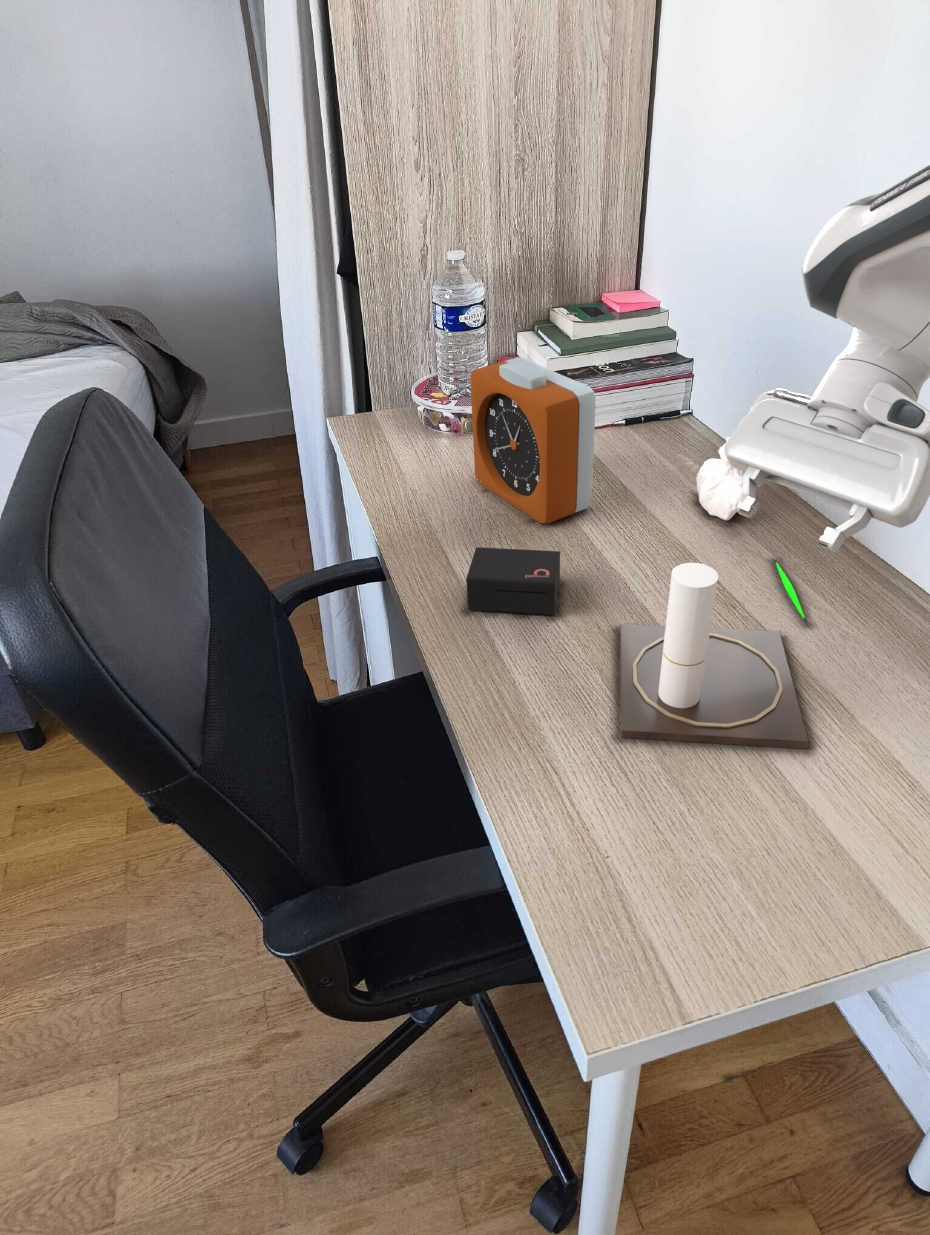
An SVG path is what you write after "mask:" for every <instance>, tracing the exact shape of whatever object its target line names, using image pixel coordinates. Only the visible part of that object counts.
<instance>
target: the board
mask: <svg viewBox="0 0 930 1235" xmlns="http://www.w3.org/2000/svg"><path fill="white" fill-rule="evenodd" d="M665 628H666V625H644V624H623V623H622V624H621V623H620V625H619V682H620V683H619V684H620V685H619V689H620V690H619V692H620V693H619V694H620V695H619V696H620V698H619V699H620V738H621V739H622V738H623V739H636V740H637V739H638V740H653V741H669V742H671V741H672V742H686V743H687V742H688V743H703V744H704V743H705V744H720V745H721V744H722V745H735V746H736V745H737V746H750V747H751V746H753V747H769V748H771V747H772V748H785V749H786V748H787V749H802V750H803V749H805V750H807V749H808V746H809V742H810V741H809V737H808V734H807V730H806V727H805V722H804V719H803V715H802V711H801V708H800V704H799V699H798V696H797V692H796V688H795V685H794V681H793V680H794V679H793V677H792V672H791V669H790V665H789V662H788V658H787V655H786V650H785V646H784V643H783V638H782V635H781V631H780V630H766V629H765V630H762V629H743V628H742V629H738V628H719V627H718V628H715V627H711V629H710V635H709V642H708V649H707V655H706V662H705V669H704V675H703V682H702V688H701V695H700V700H699V702H698V703H697V704H696V705H694V706H692V707H688V708H676V707H672V706H670V705H667V704H666V703H664V702H663V701H662V700H661V699H660V697H659V694H658V691H659V682H660V673H661V664H662V655H663V646H664V637H665Z"/></svg>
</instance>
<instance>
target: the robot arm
mask: <svg viewBox="0 0 930 1235" xmlns="http://www.w3.org/2000/svg"><path fill="white" fill-rule="evenodd" d="M804 260H805V261H804V263H803V265H802V267H801V272H800V273H801V280H802V285H803V286H802V287H803V290H804V293H805V297H806V300H807V303H808V305H809V307H810V308H811V309H813V310H816V311H818V312H820V313H822V314H825V315H827V316H829V317H831V318H833V319H835V320H841V321H842V322H844V323H846V324H847V325H849V326H850V327H853V330H852V334H851V338H850V340H849V343H848V345H847V346H846V348H844V350H842V352H841V353H840V354H839V355H837V356H836V358H835V359H834V361H833V362H832V363H831V365H830V366H829V368H828V369H827V371H826V373H825V375H824V376H823V378H822V380H821V381H820V383H819V384H818V386H817V387H816V390H815V391H814V393H813V395H812V396H811V395H806V394H802V393H797V392H792V391H790V390H788V389H784V388H776V389H774V390H770V391H766V392H764V393H760V395H758V396H757V398H756V399H755V401H754V402H753V404H752V405H751V407H750V409H749V411H748V413H747V414H746V415H745V416H744V418H742V420H741V421H740V422H739V424H738V425H737V426H736V428H735V429H734V430H733V431H732V434H731V435H730V436H729V439H728V441H727V440H726V441H727V442H726V441H725V443H726V444H725V443H724V444H725V455H726V458H727V459H728V461H729V462H730V463H731V464H732V465H733V466H734V467H735V468H736V469H739V470H742V471H745V473H744V475H743V494H744V495H743V496H742V498H741V500H740V501H739V503H738V505H737V507H736V511H737V512H736V513H738V514H739V515H741V516H743V517H746V518H749V519H754V518H755V516H756V513H757V512H758V511H759V510H760V509H761V506H762V504H761V503H760V502H758V499H757V498H756V488H762V486H764V484H765V482H766V481H769V482H773V483H775V484H778V485H781V486H784V487H786V488H789V489H791V490H794V491H797V492H800V493H803V494H805V495H808V496H811V497H814V498H817V499H819V500H822V501H825V502H827V503H830V504H833V505H836V506H838V507H841V508H844V509H847V510H849V511H848V516H849V517H850V518H848V519H847V520H846V521H844V522H843V523H841V524H840V525H838V526H837V527H835V528H834V527H830V526H826V527H825V529H824V531H823V535H821V536H820V537H819V539H818V544H819V546H820V547H821V548H822V549H826V550H828V551H830V552H832V553H837V552H838V551H839V549H840V548H841V546H842V544H843V543H844V541H845V540H846V539H848V538H850V537H852V536H854V535H856V534H857V533H858V532H861V531H862V530H864V529H866V528H867V527H868V525H869V523H870V521H871V520H872V519H873V520H877V521H880V522H883V523H886V524H888V525H891V526H894V527H896V528H899V529H900V528H901V529H902V528H905V527H908V526H909V525H911V524H913V523H915V522H916V520H918V517H920V515H921V513H922V511H923V509H924V507H925V506H926V505H927V502H928V500H929V498H930V410H929V409H927V407H925V406H923V405H922V404H920V403H918V399H919V396H920V393H921V390H922V388H923V386H924V385H925V382H926V381H927V380H928V379H930V164H929V165H926V166H925V167H924V168H921V169H920V170H918V171H917V172H915V173H913V174H911V175H910V176H907V177H906V178H904V179H903V180H900V181H899V182H897V183H895V184H894V185H893V186H891V187H889V188H887V189H886V190H884V191H882V192H880V193H876V194H872V195H868V196H865V197H861V198H859V199H857V200H854V201H851V202H850V203H849V204H847V205H846V206H845V207H843V208H842V209H841V211H839V212H838V213H836V215H834V216H833V217H832V218H831V219H829V221H828V222H827V223H826V224H825V226H824V227H823V228H822V230H821V231H820V232H819V234H818V235H816V238H815V240H814V241H813V243H812V245H811V246H810V248H809V250H808V252H807V255H806V257H805V259H804Z"/></svg>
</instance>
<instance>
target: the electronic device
mask: <svg viewBox="0 0 930 1235" xmlns="http://www.w3.org/2000/svg"><path fill="white" fill-rule="evenodd" d="M560 582H561V551H559V550H557V551H556V550H541V549H540V550H539V549H521V548H520V549H519V548H502V547H501V548H500V547H499V548H498V547H481V546H480V547H479V546H476V547H475V550H474V552H473V556H472V559H471V562H470V566H469V569H468V572H467V575H466V594H467V595H466V597H467V598H466V599H467V610H469V611H483V612H499V613H500V612H501V613H514V614H515V613H516V614H532V615H549V616H554V615H555V614H556V609H557V603H558V602H557V601H558V600H557V599H558V598H557V597H558V595H559V589H560Z"/></svg>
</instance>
